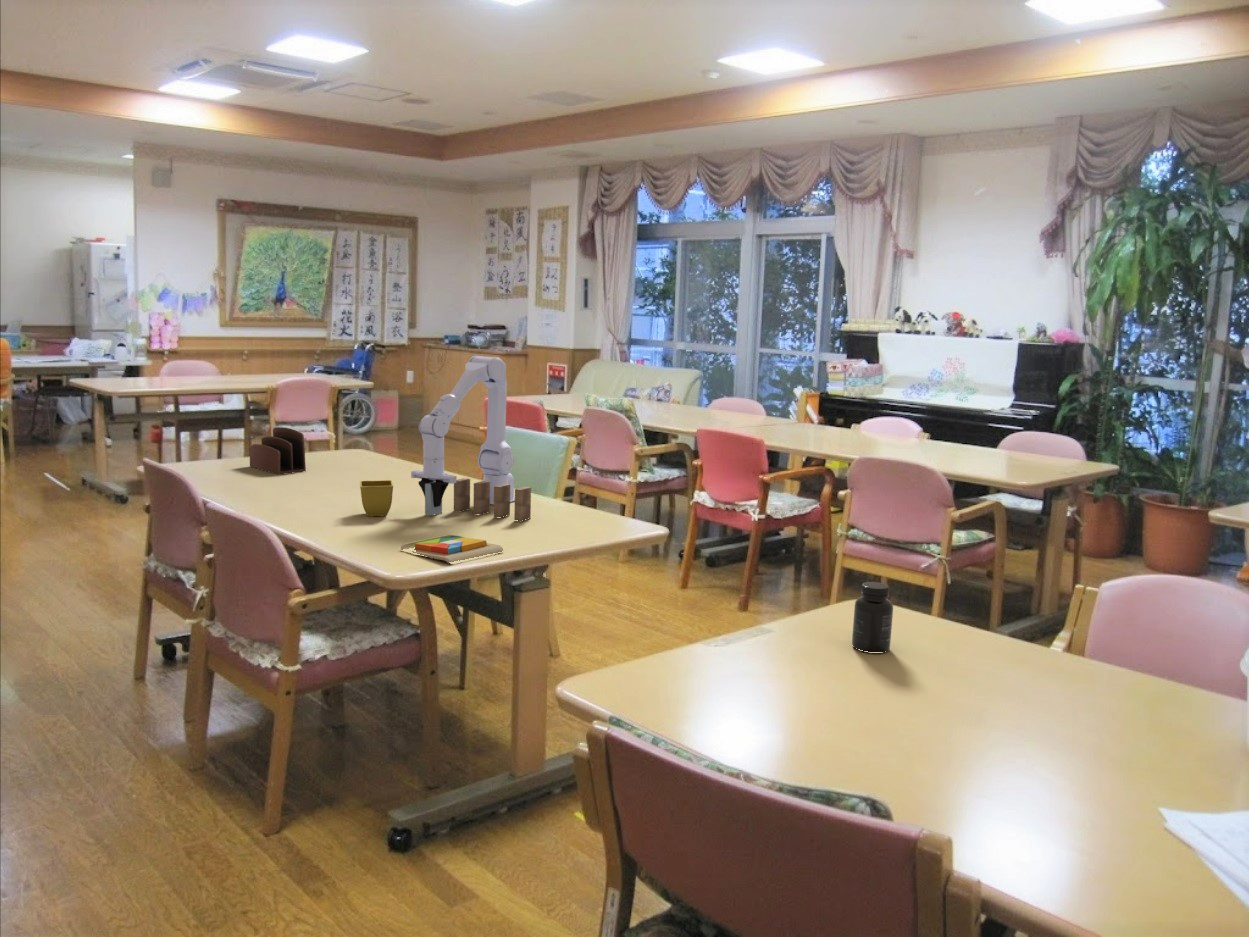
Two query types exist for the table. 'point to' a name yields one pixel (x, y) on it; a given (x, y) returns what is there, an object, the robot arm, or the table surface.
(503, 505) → the domino
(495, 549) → the wooden puzzle
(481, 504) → the domino
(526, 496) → the domino
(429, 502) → the blue domino
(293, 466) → the letter holder
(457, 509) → the domino
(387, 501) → the flower pot
